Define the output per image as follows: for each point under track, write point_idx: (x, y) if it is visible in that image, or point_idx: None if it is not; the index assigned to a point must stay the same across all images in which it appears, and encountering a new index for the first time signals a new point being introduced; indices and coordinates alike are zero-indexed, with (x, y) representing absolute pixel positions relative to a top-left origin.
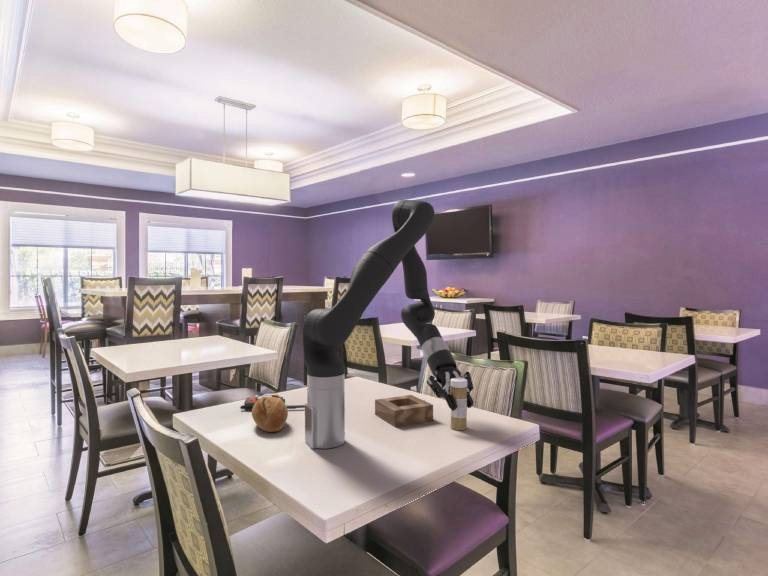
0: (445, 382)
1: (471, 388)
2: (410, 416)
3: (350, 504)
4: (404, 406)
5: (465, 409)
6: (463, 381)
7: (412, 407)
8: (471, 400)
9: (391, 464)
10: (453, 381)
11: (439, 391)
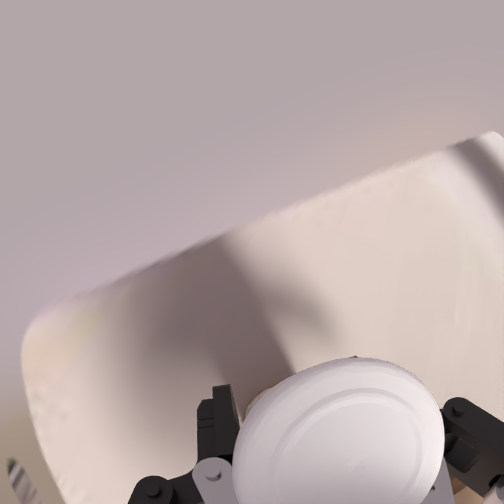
0: (445, 492)
1: (160, 481)
2: (453, 476)
3: (490, 138)
4: (479, 501)
5: (268, 389)
6: (336, 361)
7: (462, 494)
8: (216, 401)
9: (484, 203)
10: (435, 404)
11: (471, 409)
